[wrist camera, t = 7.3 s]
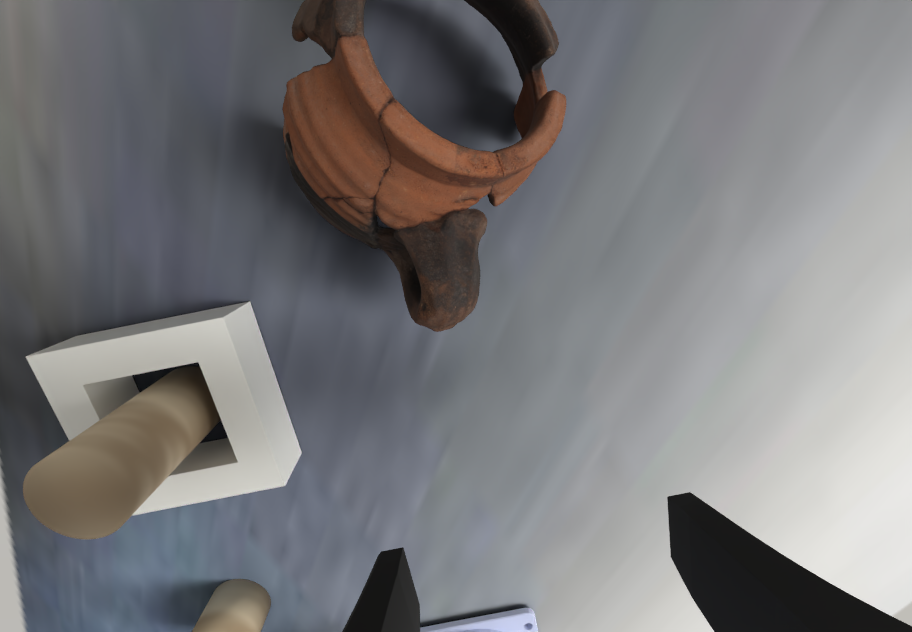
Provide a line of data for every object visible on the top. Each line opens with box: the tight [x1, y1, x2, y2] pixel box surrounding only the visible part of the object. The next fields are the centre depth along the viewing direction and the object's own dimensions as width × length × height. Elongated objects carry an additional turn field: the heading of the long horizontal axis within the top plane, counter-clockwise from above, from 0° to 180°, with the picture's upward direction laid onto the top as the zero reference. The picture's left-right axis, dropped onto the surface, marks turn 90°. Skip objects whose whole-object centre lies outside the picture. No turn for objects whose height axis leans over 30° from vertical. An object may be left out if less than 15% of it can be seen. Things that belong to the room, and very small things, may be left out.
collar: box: [26, 301, 302, 515], centre depth 19 cm, size 8×8×2 cm
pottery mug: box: [283, 0, 566, 332], centre depth 16 cm, size 12×9×8 cm
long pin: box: [23, 366, 221, 539], centre depth 17 cm, size 3×3×7 cm
